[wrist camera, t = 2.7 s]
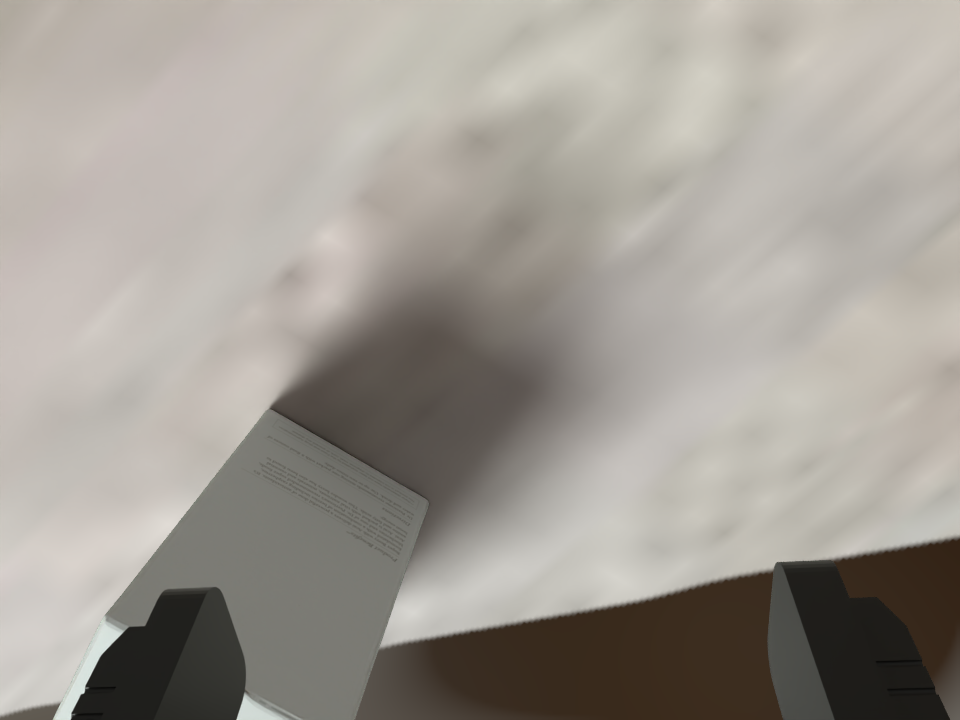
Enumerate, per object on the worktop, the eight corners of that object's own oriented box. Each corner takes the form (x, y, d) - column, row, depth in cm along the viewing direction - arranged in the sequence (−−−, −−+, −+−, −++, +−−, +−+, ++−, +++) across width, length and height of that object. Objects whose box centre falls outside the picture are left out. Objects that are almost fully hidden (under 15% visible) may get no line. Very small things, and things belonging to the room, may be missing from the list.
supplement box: (195, 535, 45) (11, 776, 32) (269, 402, 42) (97, 610, 28) (351, 624, 46) (237, 897, 32) (436, 501, 42) (349, 750, 29)
